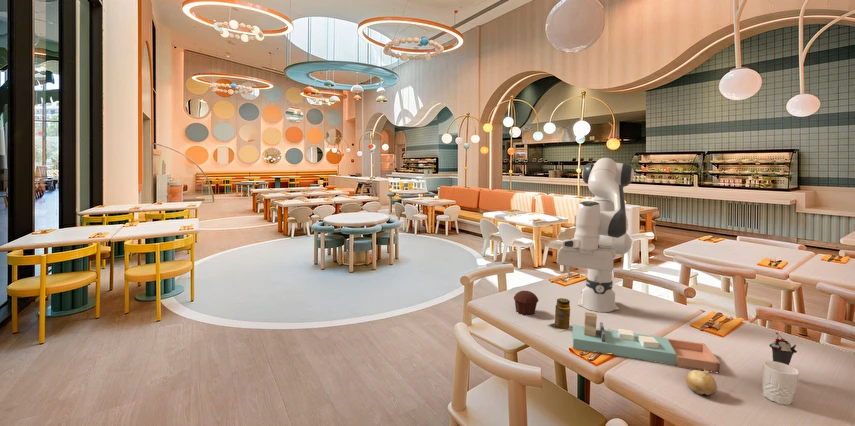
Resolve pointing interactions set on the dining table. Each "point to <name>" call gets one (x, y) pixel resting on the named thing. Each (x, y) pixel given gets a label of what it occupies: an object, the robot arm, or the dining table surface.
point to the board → (624, 346)
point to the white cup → (779, 381)
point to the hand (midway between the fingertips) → (583, 279)
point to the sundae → (782, 350)
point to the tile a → (625, 334)
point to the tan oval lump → (701, 382)
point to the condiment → (562, 315)
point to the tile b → (648, 341)
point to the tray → (694, 355)
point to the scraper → (593, 326)
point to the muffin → (525, 302)
